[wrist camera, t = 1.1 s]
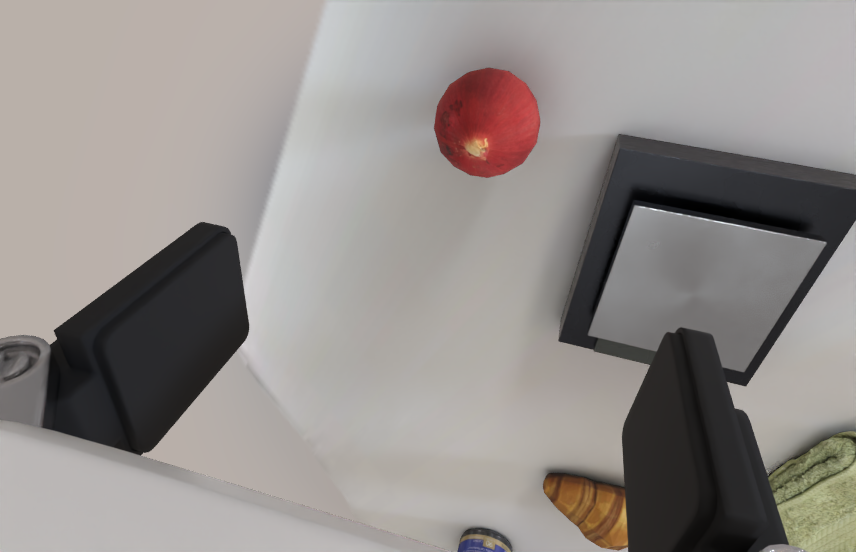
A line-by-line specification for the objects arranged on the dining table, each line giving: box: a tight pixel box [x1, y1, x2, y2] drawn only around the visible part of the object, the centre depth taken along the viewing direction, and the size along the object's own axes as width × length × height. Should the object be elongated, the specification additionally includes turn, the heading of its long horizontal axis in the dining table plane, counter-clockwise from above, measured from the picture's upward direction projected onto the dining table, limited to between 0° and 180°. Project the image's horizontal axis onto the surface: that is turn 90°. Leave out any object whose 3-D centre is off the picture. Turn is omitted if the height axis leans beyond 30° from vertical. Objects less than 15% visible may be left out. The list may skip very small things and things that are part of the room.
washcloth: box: [768, 431, 856, 552], centre depth 42 cm, size 13×18×3 cm
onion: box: [434, 68, 540, 178], centre depth 29 cm, size 6×6×8 cm
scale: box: [558, 134, 856, 386], centre depth 33 cm, size 15×13×3 cm
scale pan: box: [588, 200, 827, 372], centre depth 32 cm, size 10×10×1 cm
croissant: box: [543, 473, 628, 550], centre depth 48 cm, size 14×7×5 cm, turn 78°
